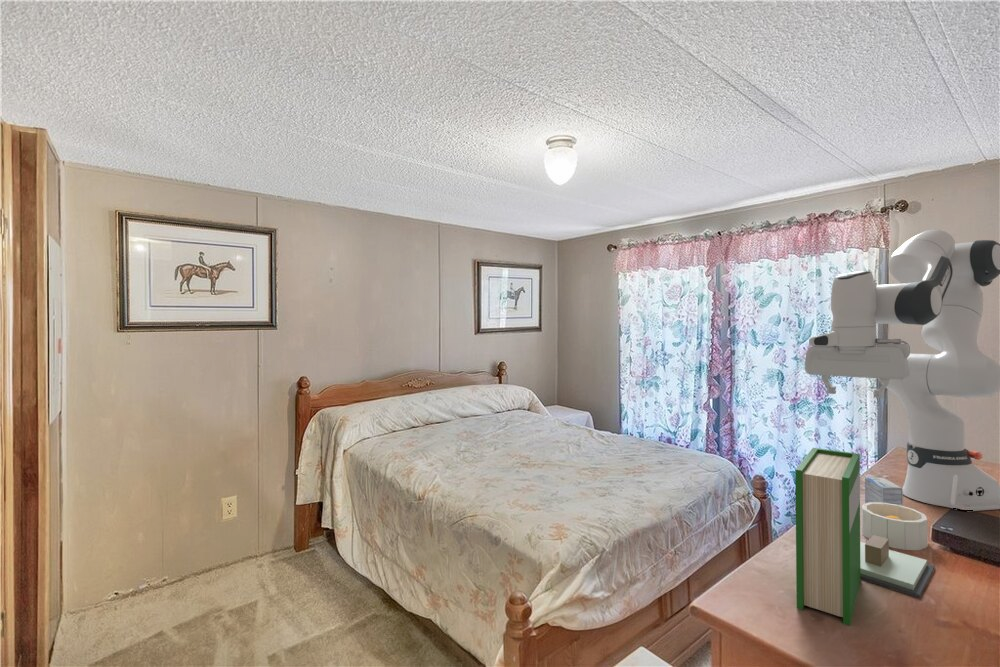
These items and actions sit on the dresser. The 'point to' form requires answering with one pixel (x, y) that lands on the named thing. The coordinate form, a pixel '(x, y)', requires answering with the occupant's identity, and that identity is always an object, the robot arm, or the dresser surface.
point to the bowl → (895, 525)
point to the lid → (890, 563)
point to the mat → (916, 592)
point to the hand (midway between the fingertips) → (854, 395)
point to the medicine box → (882, 491)
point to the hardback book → (828, 532)
